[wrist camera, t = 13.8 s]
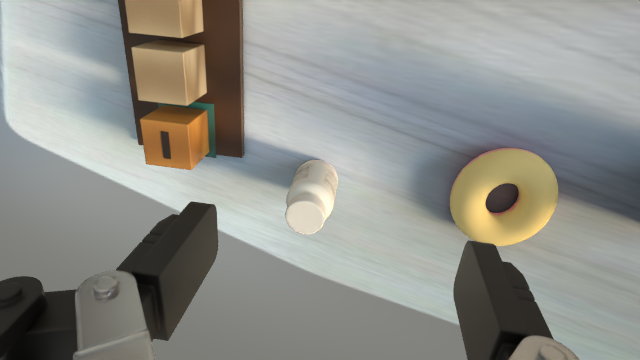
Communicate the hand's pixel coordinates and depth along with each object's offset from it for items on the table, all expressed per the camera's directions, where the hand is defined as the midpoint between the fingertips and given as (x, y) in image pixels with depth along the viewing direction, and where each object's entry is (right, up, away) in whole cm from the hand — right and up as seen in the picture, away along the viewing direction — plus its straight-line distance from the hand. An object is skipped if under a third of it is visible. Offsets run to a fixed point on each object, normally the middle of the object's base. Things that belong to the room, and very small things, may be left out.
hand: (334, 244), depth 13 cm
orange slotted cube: (-14, +7, +27) cm, 31 cm away
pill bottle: (-1, +2, +29) cm, 29 cm away
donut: (+17, +1, +27) cm, 32 cm away
